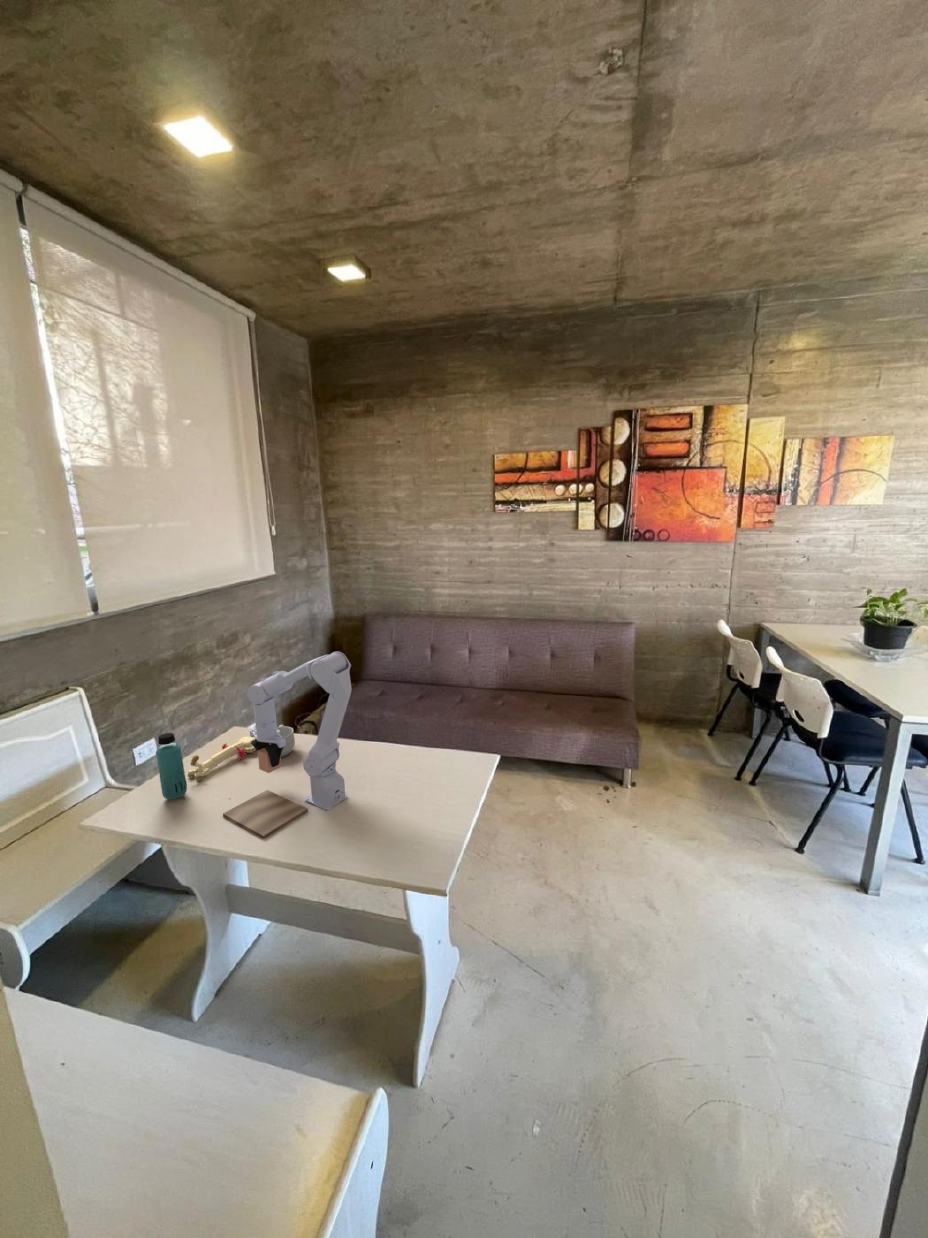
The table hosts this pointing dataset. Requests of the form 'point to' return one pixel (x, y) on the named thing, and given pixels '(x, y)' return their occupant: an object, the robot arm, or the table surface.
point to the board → (265, 813)
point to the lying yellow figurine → (221, 757)
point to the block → (266, 761)
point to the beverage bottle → (171, 767)
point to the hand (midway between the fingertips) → (270, 763)
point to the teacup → (287, 739)
